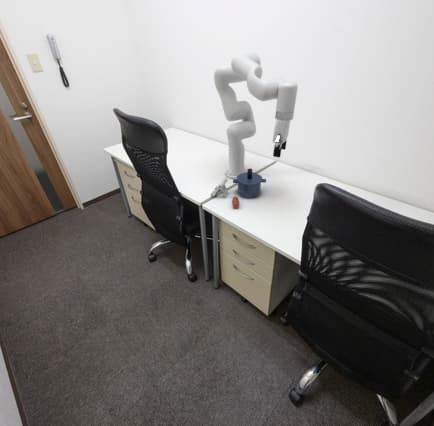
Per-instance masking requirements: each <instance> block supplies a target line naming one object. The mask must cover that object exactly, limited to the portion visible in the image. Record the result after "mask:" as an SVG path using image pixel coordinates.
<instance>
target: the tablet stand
mask: <svg viewBox="0 0 434 426" xmlns="http://www.w3.org/2000/svg"><path fill="white" fill-rule="evenodd" d="M227 182H228V178H227V177H224V178H223V179H222V180H221V182H220V183H219V184H218V185H216V187H215V188H214V190H213V191H212V192H211V193H210V196H211V197H212V198H215V196H216V195H217V193H218V192H219V191H220V190H221V191H222V194H223V196H224V197H225V198H226V197H227V195H228V194H229V191H228V189H227V187H226V183H227Z"/></svg>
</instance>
